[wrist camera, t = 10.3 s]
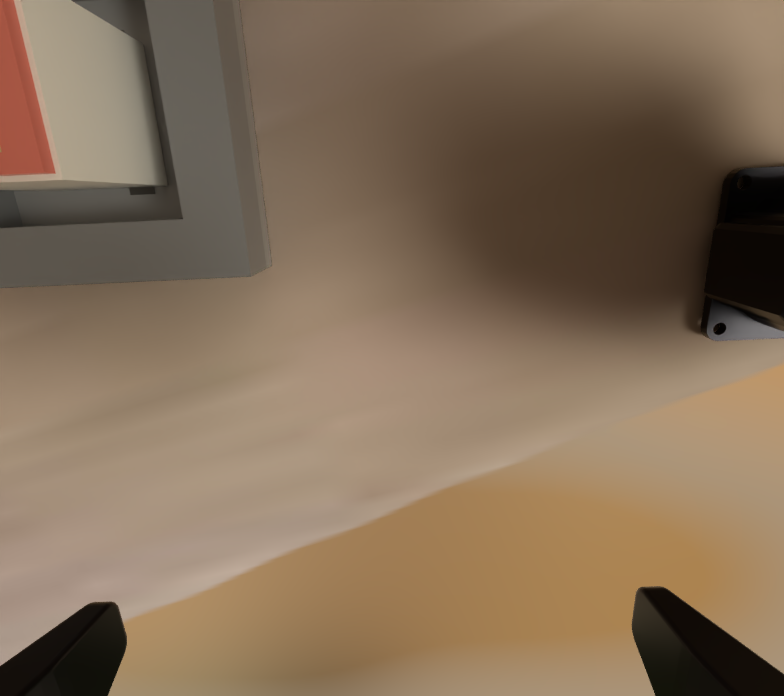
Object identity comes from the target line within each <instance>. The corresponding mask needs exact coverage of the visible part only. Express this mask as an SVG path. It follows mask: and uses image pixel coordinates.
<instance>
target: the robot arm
mask: <svg viewBox="0 0 784 696" xmlns="http://www.w3.org/2000/svg"><path fill="white" fill-rule="evenodd" d="M741 177H742V178H743V179H744V184H743V186H742V187H741V188H740V189H739V188H738V187H737V182H738V180H739V179H740V178H741ZM704 292H705V293H706V297H705V303H704V309H703V316H702V322H701V332H702V334H703V335H704V336H705V337H707V338H709V339H712V340H715V341H727V340H751V339H775V338H784V166H780V167H761V168H744V169H737V170H733V171H732V172H730V173H729V174H728V175H727V176H726V178H725V180H724V183H723V188H722V194H721V201H720V207H719V213H718V220H717V226H716V228H715V229H714V231H713V237H712V244H711V250H710V257H709V263H708V270H707V276H706V283H705V289H704ZM717 323H720V327H719V329H718V330H717V331H716V332H713V328H714V326H715V325H716V324H717ZM632 632H633V636H634V640H635V642H636V645H637V648H638V650H639V653H640V656H641V658H642V661H643V664H644V666H645V669H646V672H647V674H648V677H649V679H650V682H651V685H652V687H653V690H654V693H655V696H784V674H783V673H782V672H780V671H779V670H777V669H776V668H775V667H773V666H772V665H771V664H769V663H768V662H767V661H765V660H764V659H763V658H761V657H760V656H758V655H757V654H756V653H754V652H753V651H751V650H750V649H749V648H748V647H746V646H745V645H743V644H742V643H741V642H739V641H738V640H737V639H735V638H734V637H732V636H731V635H730V634H728V633H727V632H726V631H724V630H723V629H722V628H720V627H719V626H717V625H716V624H715V623H713V622H712V621H711V620H709V619H708V618H706V617H705V616H704V615H702V614H701V613H700V612H698V611H697V610H695V609H694V608H693V607H691V606H690V605H688V604H687V603H686V602H684V601H683V600H682V599H680V598H679V597H677V596H676V595H675V594H674V593H672V592H671V591H669V590H668V589H666V588H664V587H660V586H656V587H640V588H639V589H638V590H637V592H636V597H635V604H634V611H633V619H632ZM126 645H127V636H126V632H125V628H124V625H123V621H122V618H121V614H120V611H119V608H118V605H117V604H116V603H114V602H93V603H90V604H88V605H86V606H84V607H83V608H82V609H80V610H79V611H77V612H76V613H75V614H73V615H72V616H70V617H69V618H67V619H66V620H65V621H63V622H62V623H60V624H59V625H58V626H56V627H55V628H53V629H52V630H51V631H49V632H48V633H46V634H45V635H43V636H42V637H41V638H39V639H38V640H36V641H35V642H34V643H32V644H31V645H29V646H28V647H27V648H25V649H24V650H22V651H21V652H19V653H18V654H17V655H15V656H14V657H12V658H11V659H10V660H8V661H7V662H5V663H4V664H3V665H1V666H0V696H108V694H109V691H110V688H111V686H112V683H113V681H114V678H115V676H116V673H117V671H118V668H119V666H120V663H121V661H122V658H123V656H124V653H125V650H126Z"/></svg>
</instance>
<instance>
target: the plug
mask: <svg viewBox="0 0 784 696" xmlns="http://www.w3.org/2000/svg"><path fill="white" fill-rule="evenodd" d="M151 186H168V183H167V177H166V171H165V166H164V160H163V154H162V149H161V143H160V137H159V132H158V126H157V120H156V114H155V109H154V103H153V97H152V92H151V86H150V80H149V74H148V69H147V63H146V57H145V52H144V46H143V44H142V43H141V42H139V41H137V40H136V39H134V38H132V37H131V36H129V35H127V34H126V33H124V32H122V31H121V30H119V29H117V28H116V27H114V26H112V25H111V24H109V23H108V22H106V21H104V20H103V19H101V18H99V17H98V16H96V15H94V14H93V13H91V12H89V11H88V10H86V9H84V8H83V7H81V6H79V5H78V4H76V3H75V2H73V1H71V0H0V190H21V191H60V190H83V189H106V188H128V187H151Z"/></svg>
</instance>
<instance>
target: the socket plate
mask: <svg viewBox="0 0 784 696" xmlns="http://www.w3.org/2000/svg"><path fill="white" fill-rule="evenodd" d="M71 1H73V2H75V3H76V4H78V5H79V6H81V7H83V8H84V9H86V10H88V11H89V12H91V13H93V14H94V15H96V16H98V17H99V18H101V19H103V20H104V21H106V22H108V23H109V24H111V25H112V26H114V27H116V28H117V29H119V30H121V31H122V32H124V33H126V34H127V35H129V36H131V37H132V38H134V39H136V40H137V41H139V42H141V43H142V44H143V46H144V52H145V57H146V63H147V69H148V74H149V80H150V86H151V92H152V97H153V103H154V109H155V114H156V120H157V126H158V132H159V137H160V143H161V149H162V154H163V160H164V166H165V171H166V177H167V183H168V186H151V187H128V188H106V189H83V190H60V191H21V190H0V288H14V287H36V286H58V285H79V284H101V283H123V282H144V281H166V280H188V279H209V278H231V277H251V276H253V275H255V274H257V273H259V272H261V271H263V270H265V269H266V268H268V267H270V266H272V261H271V253H270V245H269V237H268V229H267V221H266V213H265V205H264V197H263V189H262V181H261V173H260V165H259V157H258V149H257V141H256V133H255V125H254V117H253V109H252V101H251V93H250V85H249V77H248V69H247V60H246V52H245V44H244V36H243V28H242V20H241V12H240V4H239V0H71Z"/></svg>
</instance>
